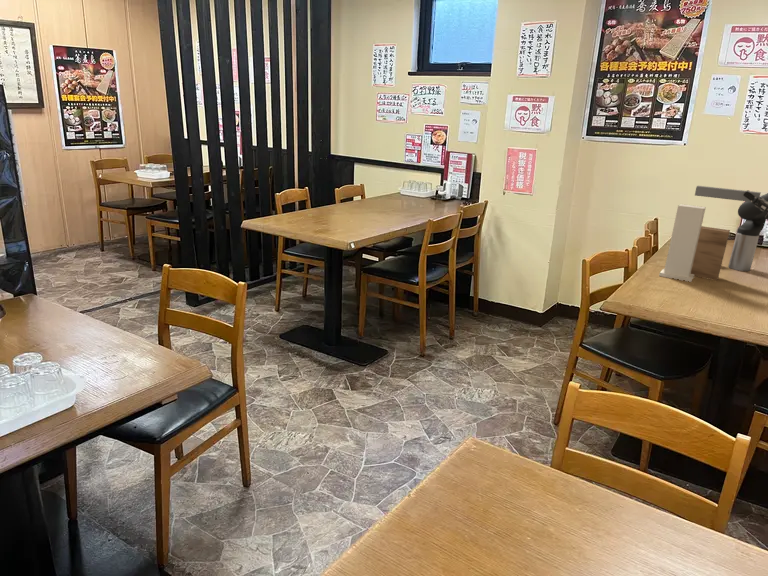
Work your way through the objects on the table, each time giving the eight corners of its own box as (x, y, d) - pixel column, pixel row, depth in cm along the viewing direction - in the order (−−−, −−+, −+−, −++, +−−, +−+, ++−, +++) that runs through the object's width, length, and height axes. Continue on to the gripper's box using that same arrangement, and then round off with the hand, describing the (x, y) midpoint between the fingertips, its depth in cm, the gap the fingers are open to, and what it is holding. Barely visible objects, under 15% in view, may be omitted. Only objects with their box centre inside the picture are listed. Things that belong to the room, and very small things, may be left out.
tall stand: (662, 271, 261) (677, 203, 251) (693, 277, 254) (710, 207, 244) (659, 275, 254) (673, 205, 244) (690, 282, 247) (707, 209, 237)
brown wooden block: (674, 269, 266) (684, 223, 259) (718, 277, 256) (730, 230, 249) (671, 272, 261) (682, 225, 254) (717, 280, 252) (728, 232, 245)
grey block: (695, 194, 253) (697, 185, 252) (758, 201, 240) (760, 192, 239) (694, 195, 250) (696, 186, 249) (757, 202, 237) (760, 193, 236)
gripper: (789, 208, 239) (753, 183, 244) (788, 212, 227) (751, 186, 233) (774, 222, 243) (739, 197, 248) (773, 226, 231) (736, 201, 237)
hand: (745, 192), depth 240 cm, fingers closed on grey block, 4 cm apart
